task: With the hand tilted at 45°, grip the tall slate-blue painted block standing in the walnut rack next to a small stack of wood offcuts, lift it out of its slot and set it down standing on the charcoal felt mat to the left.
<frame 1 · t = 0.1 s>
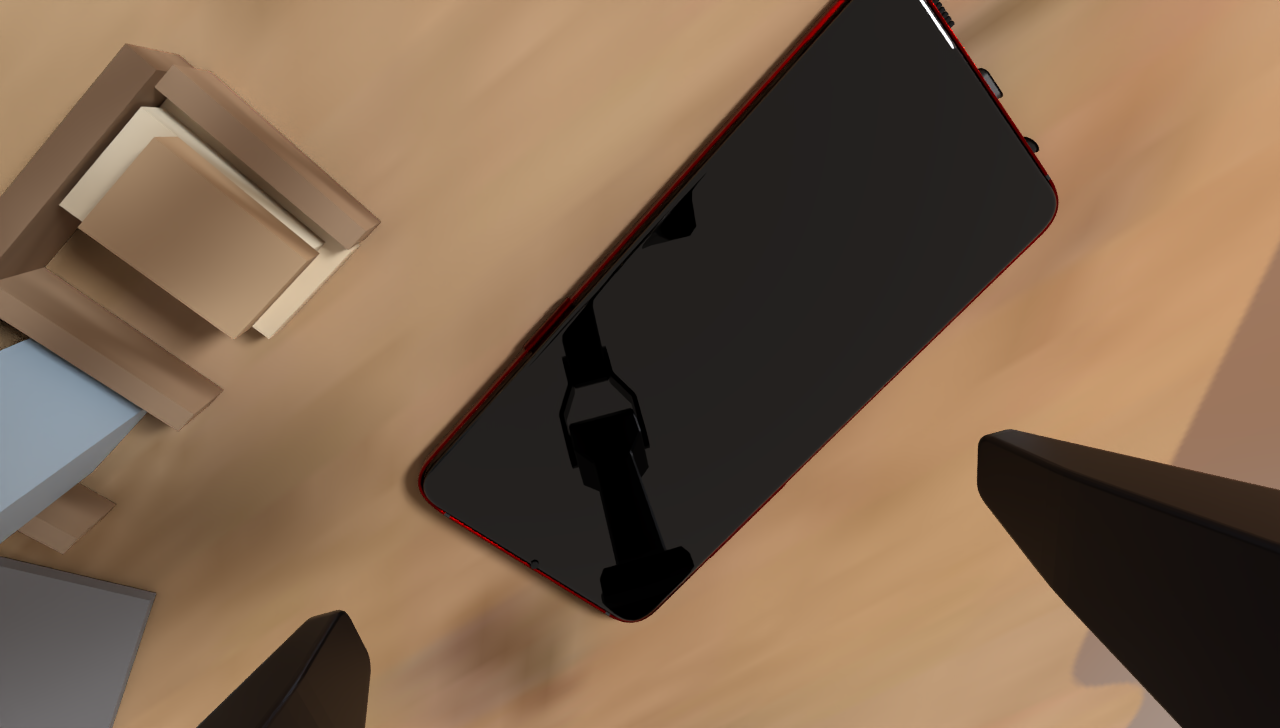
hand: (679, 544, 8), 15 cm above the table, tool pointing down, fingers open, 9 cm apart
smartphone: (733, 333, 24), on the table
offcut stack: (238, 221, 19), on the table
rack: (75, 402, 20), on the table
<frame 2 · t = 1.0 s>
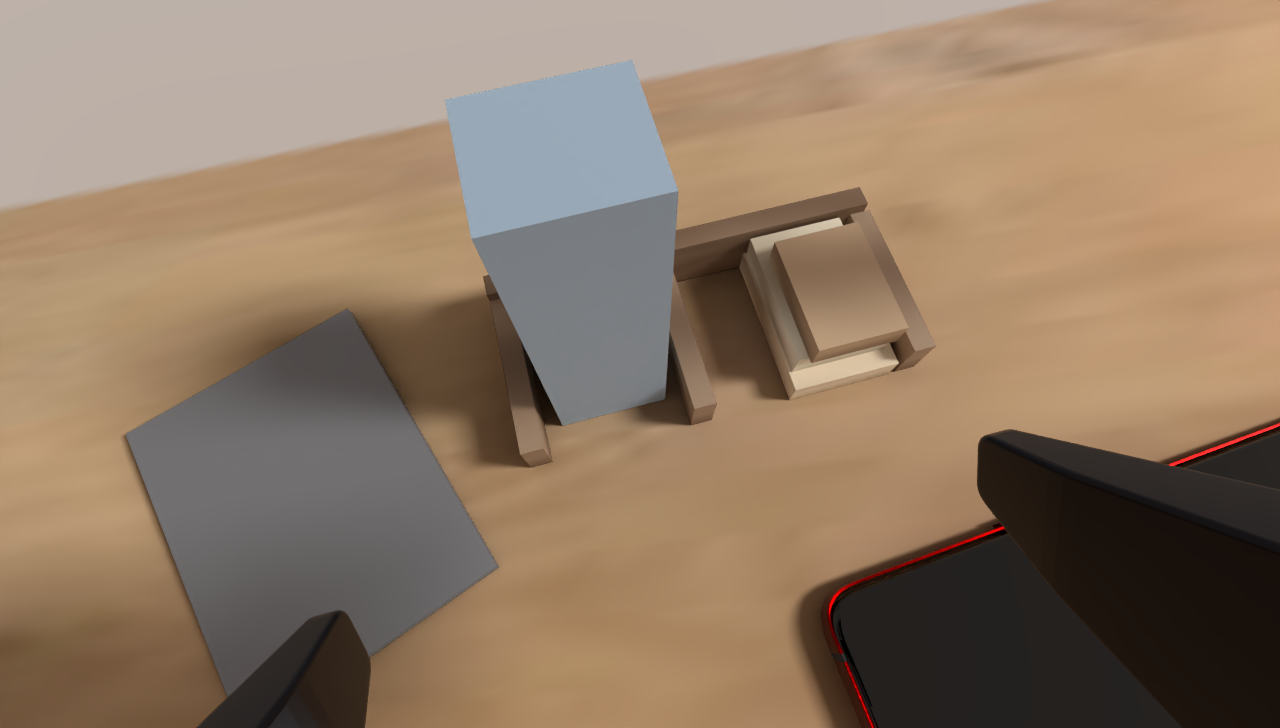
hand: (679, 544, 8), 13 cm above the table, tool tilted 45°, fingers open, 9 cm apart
block: (587, 293, 18), in the rack
smartphone: (1219, 654, 20), on the table
mat: (308, 499, 22), on the table
offcut stack: (810, 318, 24), on the table
rack: (603, 370, 24), on the table
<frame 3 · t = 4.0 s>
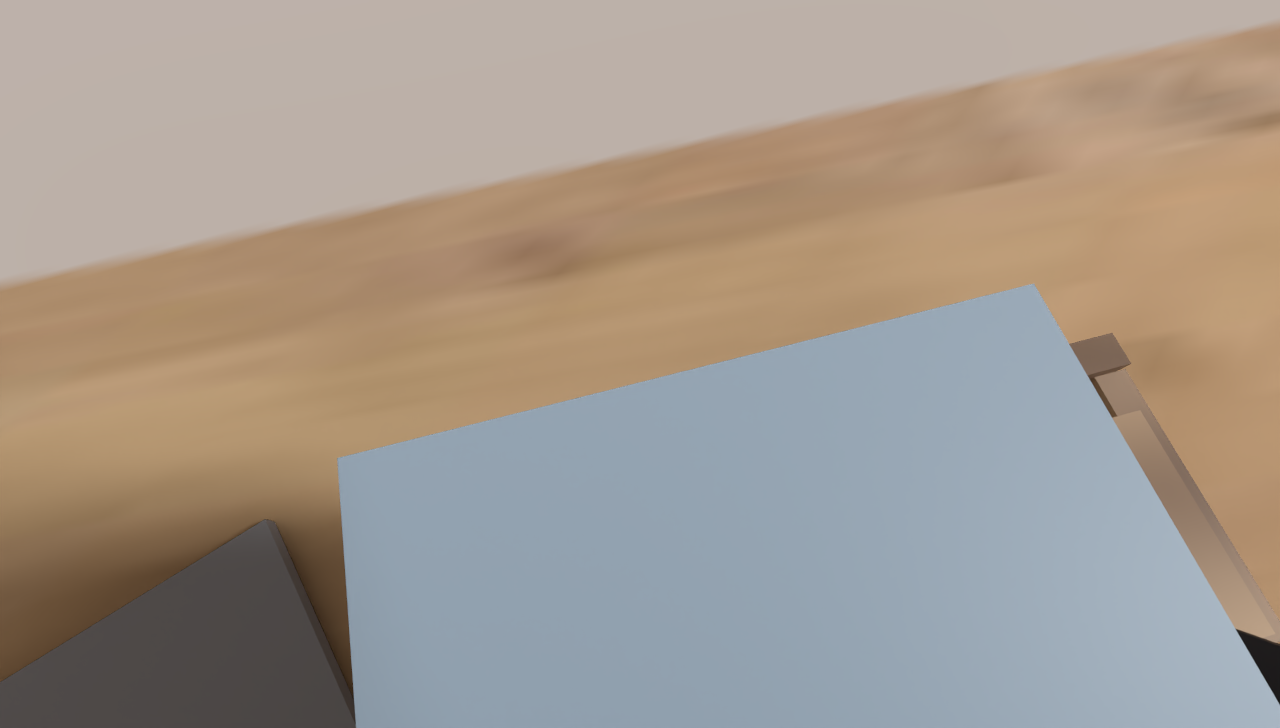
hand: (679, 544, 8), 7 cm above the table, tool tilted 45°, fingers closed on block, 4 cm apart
block: (705, 648, 8), in the rack, touching gripper
offcut stack: (1020, 540, 15), on the table
rack: (684, 635, 14), on the table
when the fingers open (8 cm above the table, at t = 7.2 s): block stays where it is, resting on mat.
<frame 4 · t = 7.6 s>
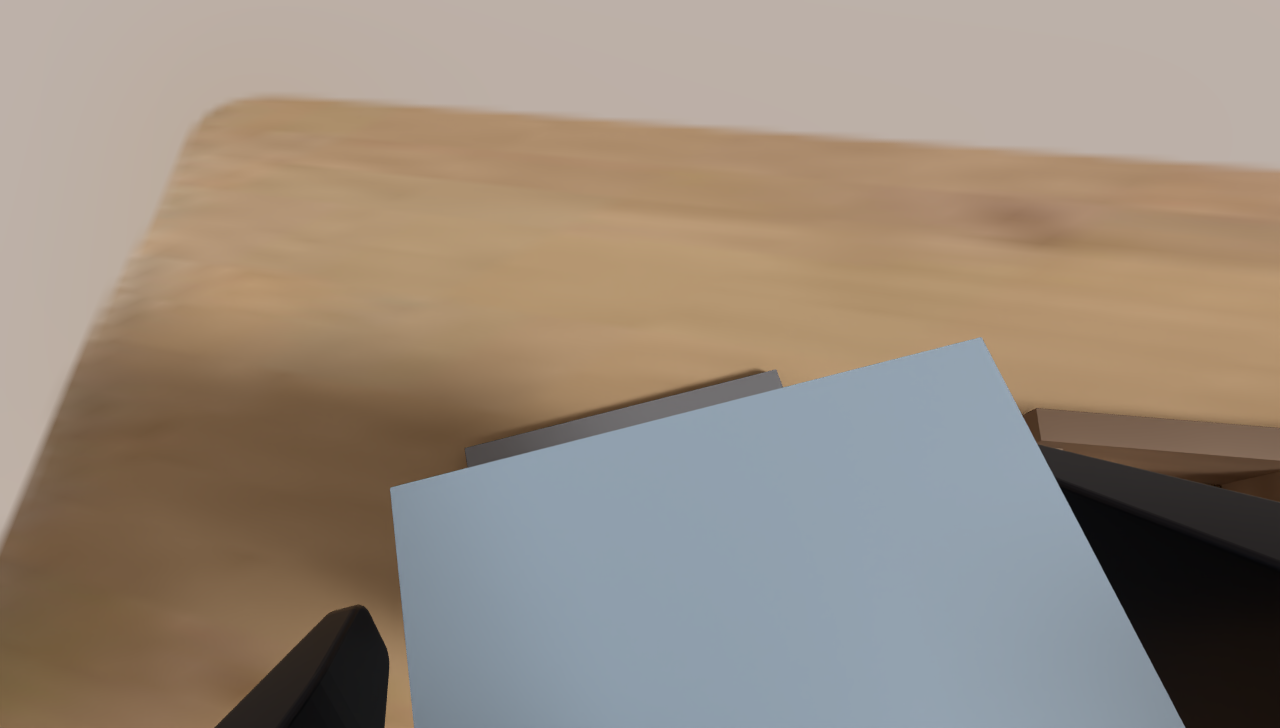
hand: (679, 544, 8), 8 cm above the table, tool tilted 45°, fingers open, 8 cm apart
block: (702, 648, 9), on the mat
mat: (682, 634, 15), on the table
rack: (1142, 593, 15), on the table
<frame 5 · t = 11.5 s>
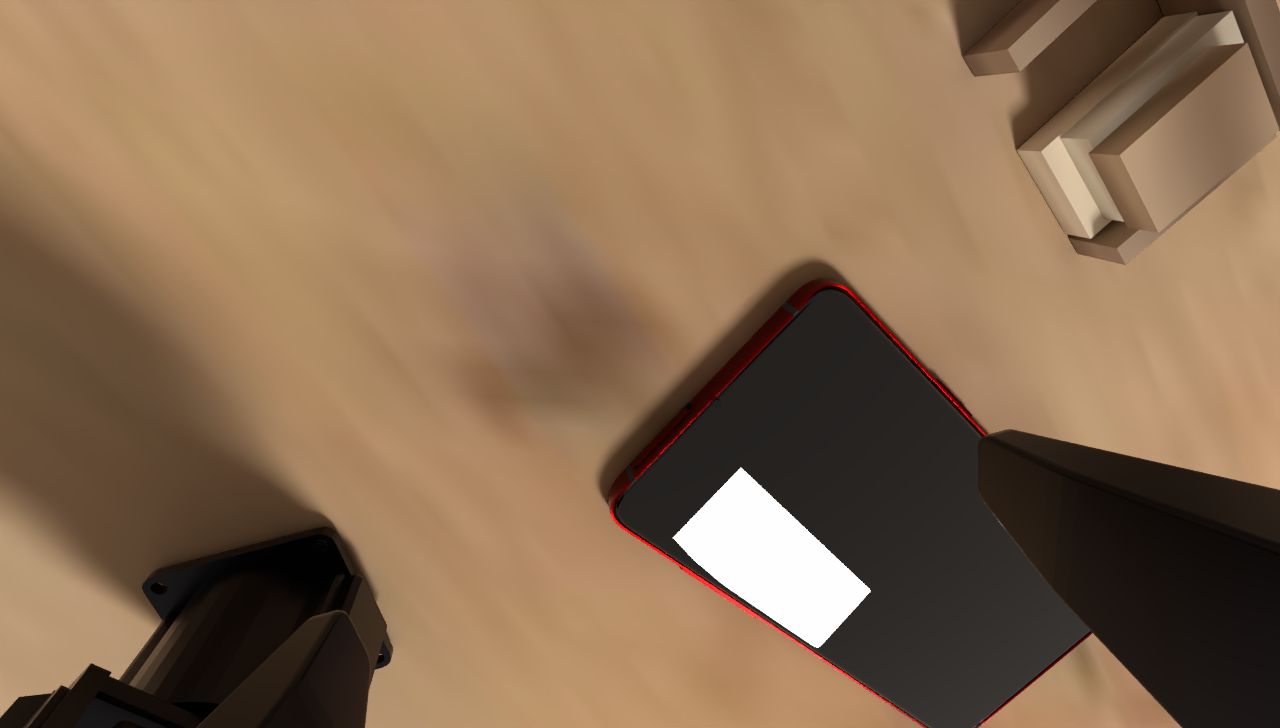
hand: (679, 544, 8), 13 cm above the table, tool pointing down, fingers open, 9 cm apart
smartphone: (888, 539, 27), on the table
offcut stack: (1111, 131, 21), on the table
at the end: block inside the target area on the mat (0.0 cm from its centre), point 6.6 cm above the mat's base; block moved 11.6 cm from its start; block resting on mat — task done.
